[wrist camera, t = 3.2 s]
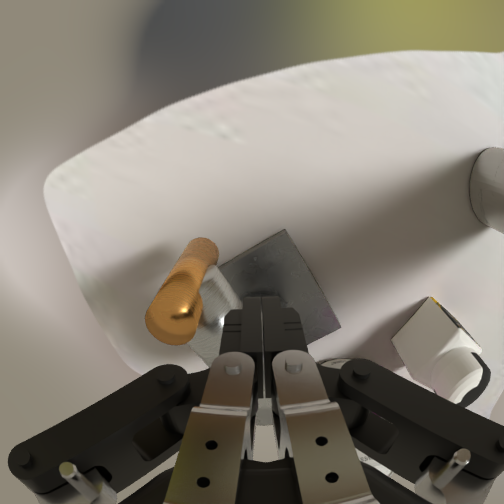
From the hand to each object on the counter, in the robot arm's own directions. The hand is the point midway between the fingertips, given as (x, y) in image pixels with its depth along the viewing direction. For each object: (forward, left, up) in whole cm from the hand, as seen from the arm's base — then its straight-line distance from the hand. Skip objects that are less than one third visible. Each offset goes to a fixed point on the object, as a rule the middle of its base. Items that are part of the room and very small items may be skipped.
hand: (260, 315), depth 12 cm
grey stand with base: (+4, +8, -15) cm, 17 cm away
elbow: (+4, +4, -10) cm, 12 cm away
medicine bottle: (-11, +22, -15) cm, 29 cm away
